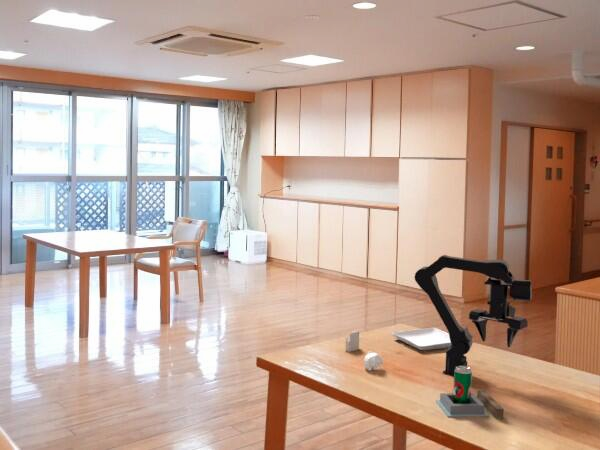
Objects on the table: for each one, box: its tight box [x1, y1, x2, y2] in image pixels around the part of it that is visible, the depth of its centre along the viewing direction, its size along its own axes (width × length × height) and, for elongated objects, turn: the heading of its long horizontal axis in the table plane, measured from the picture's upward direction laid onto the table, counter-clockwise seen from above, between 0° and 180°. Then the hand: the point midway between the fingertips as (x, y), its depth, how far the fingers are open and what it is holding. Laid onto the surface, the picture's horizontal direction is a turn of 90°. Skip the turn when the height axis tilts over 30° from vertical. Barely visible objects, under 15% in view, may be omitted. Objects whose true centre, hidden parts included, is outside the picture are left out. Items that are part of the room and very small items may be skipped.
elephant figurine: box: [362, 350, 384, 372], centre depth 230 cm, size 7×8×6 cm
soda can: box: [453, 365, 473, 404], centre depth 195 cm, size 5×5×12 cm
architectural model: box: [342, 330, 361, 353], centre depth 254 cm, size 3×7×7 cm, turn 136°
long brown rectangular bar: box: [476, 388, 505, 420], centre depth 196 cm, size 16×2×3 cm, turn 5°
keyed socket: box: [435, 392, 489, 418], centre depth 195 cm, size 12×12×3 cm
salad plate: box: [391, 327, 452, 351], centre depth 264 cm, size 21×21×3 cm
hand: (496, 344), depth 221 cm, fingers open, 9 cm apart
